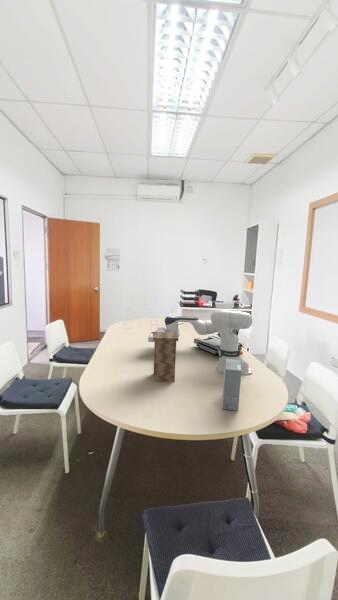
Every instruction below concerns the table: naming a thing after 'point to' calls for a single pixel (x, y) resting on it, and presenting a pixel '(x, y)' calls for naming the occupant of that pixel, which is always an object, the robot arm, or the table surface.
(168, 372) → the walnut stand
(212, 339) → the game console
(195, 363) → the table surface
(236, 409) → the hard drive box
